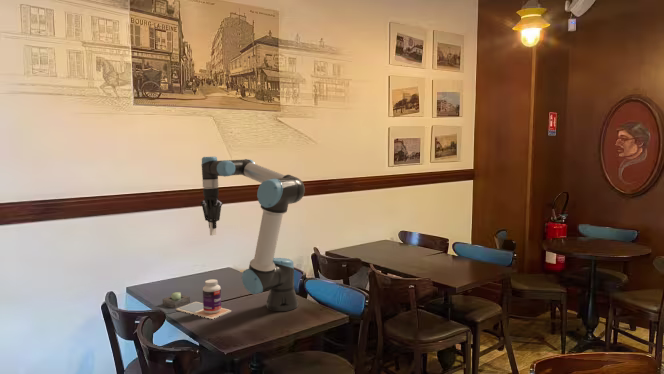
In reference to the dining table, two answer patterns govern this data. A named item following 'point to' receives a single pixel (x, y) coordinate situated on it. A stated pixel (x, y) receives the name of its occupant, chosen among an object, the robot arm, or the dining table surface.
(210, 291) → the pill bottle
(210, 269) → the dining table surface
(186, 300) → the button housing
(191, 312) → the board
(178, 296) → the button
